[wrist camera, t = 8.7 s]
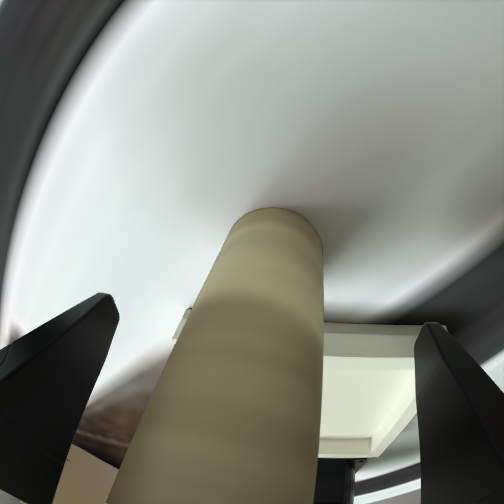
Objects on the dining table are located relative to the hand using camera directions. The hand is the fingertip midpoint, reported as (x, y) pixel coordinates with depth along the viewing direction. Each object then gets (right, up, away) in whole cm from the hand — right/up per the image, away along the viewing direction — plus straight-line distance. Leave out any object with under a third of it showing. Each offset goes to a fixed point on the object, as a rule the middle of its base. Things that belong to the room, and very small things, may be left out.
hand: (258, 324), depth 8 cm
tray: (+3, -6, +7) cm, 10 cm away
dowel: (+1, +2, +3) cm, 4 cm away
